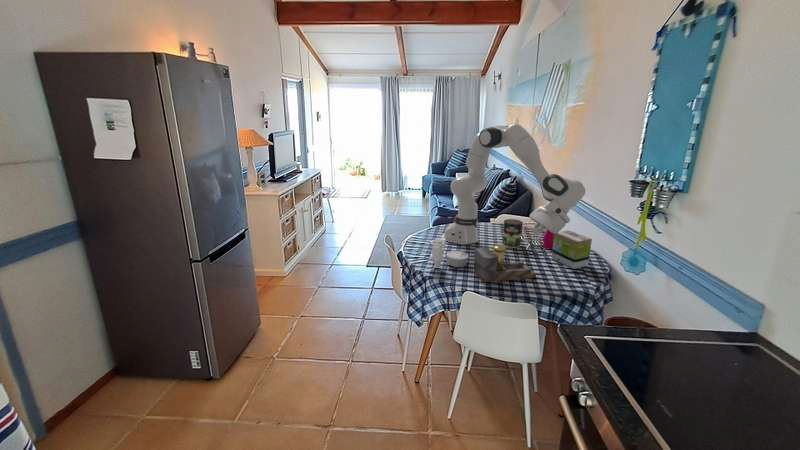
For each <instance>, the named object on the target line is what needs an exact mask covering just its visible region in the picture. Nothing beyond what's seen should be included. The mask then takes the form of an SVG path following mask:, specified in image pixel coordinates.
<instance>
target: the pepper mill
mask: <svg viewBox="0 0 800 450" xmlns="http://www.w3.org/2000/svg"><path fill="white" fill-rule="evenodd" d="M553 241H554V234H553V233H552V232H550V231H549V230H547V229H546V230H545V233H544V234H543V237H542V242H543V243H542V247H543V246H544V247H545V249H548V250H551V249H553ZM544 247H543V248H544Z"/></svg>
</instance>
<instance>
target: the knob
mask: <svg viewBox="0 0 800 450" xmlns="http://www.w3.org/2000/svg"><path fill="white" fill-rule="evenodd" d="M492 250H493V252H492V253H493V254H494V255H495V256H497V269H496V271H506V270H507V269H506V268H505V267H503V265H504V263H505V252H506V250H507V247H506V246H504V245H502V244H493V245H492Z"/></svg>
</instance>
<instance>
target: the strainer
mask: <svg viewBox="0 0 800 450" xmlns="http://www.w3.org/2000/svg"><path fill="white" fill-rule="evenodd" d="M430 245H431V246H432V247H431V248H432V249H431V254H430V259H431V260H433V261H434V266H435V267H437V268H439V267H442V266H441V263H442V261H444V260H445V259H446V254H445V253H444V251H445V249H444V247H446V241H445V239H441V238H439V239H437V238H435V239H431V240H430Z"/></svg>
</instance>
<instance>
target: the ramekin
mask: <svg viewBox="0 0 800 450" xmlns="http://www.w3.org/2000/svg"><path fill="white" fill-rule="evenodd" d="M469 257H470V255H469V254H468V253H467V252H466V251H465V252H464V251H462V250H451V251H448V252H446V254H445V258H446V262H447V264H448V266H449V265H451V266H454V267H453V268H455V267H461V268H464V267H466V266H467V263H468V260H469ZM451 266H450V267H451Z"/></svg>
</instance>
